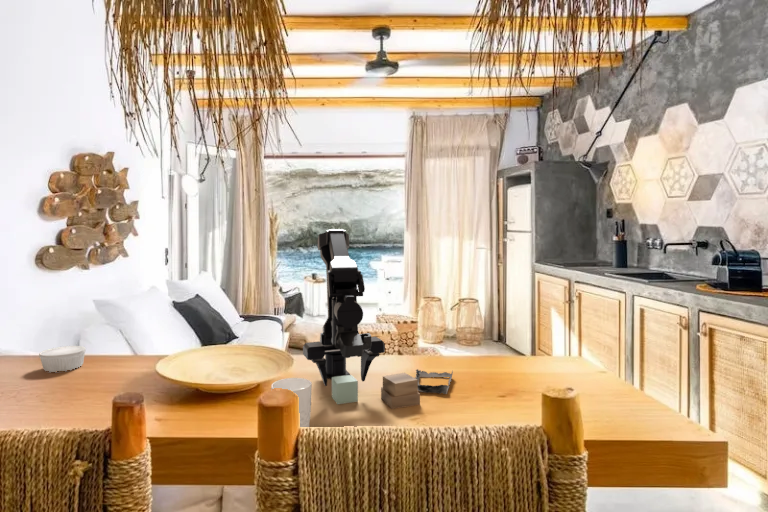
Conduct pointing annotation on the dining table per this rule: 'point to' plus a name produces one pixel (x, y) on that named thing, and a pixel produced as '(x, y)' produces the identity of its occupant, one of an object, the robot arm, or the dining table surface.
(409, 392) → the slab top
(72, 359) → the ramekin
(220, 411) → the dining table surface
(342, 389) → the sage cube
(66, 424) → the dining table surface
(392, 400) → the slab base
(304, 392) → the white cup
